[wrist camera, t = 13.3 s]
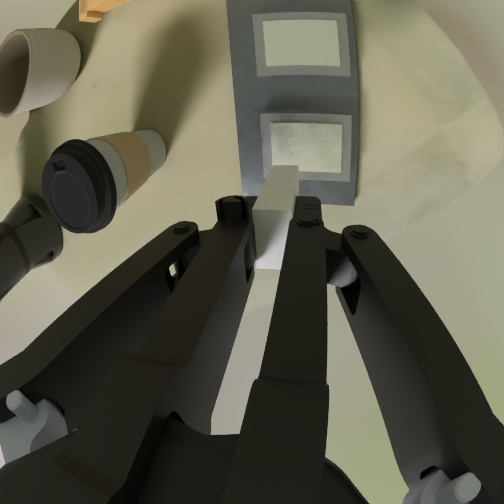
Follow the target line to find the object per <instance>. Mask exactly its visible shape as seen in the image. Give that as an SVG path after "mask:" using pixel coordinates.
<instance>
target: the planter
mask: <svg viewBox="0 0 504 504" xmlns="http://www.w3.org/2000/svg"><path fill="white" fill-rule="evenodd" d="M80 61H81V52H80V47H79V44H78V41H77V40H76V38H75V37H74V36H73V35H72V34H70V33H69V32H67V31H64V30H60V29H51V28H36V29H18V30H15V31H13V32H12V33H10V34H9V35H8V36H7V38H6V39H5V40H4V41H3V43H2V45H1V46H0V116H1V117H4V118H8V117H11V116H14V115H17V114H20V113H23V112H26V111H29V110H32V109H36V108H39V107H42V106H45V105H47V104H49V103H52V102H54V101H55V100H57V99H58V98H60V97H61V96H62V95H64V94H65V93H66V92H67V91H68V89H69V88H70V87H71V85H72V84H73V82H74V80H75V78H76V76H77V74H78V71H79V67H80Z"/></svg>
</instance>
